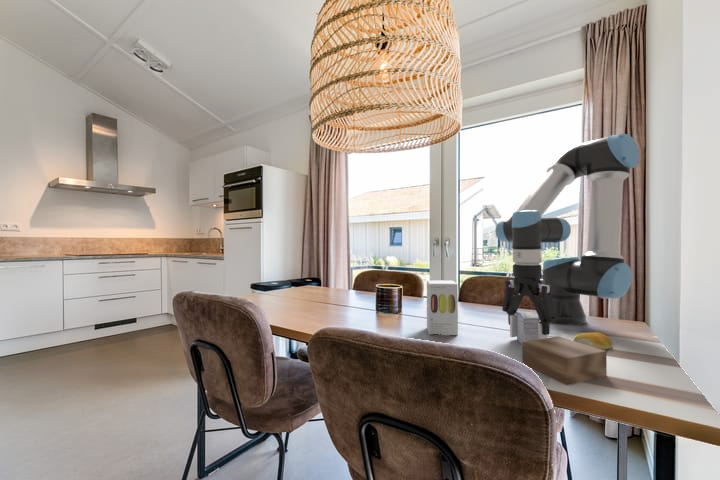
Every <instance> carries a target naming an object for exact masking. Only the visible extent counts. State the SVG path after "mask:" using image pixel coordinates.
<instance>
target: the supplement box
mask: <svg viewBox="0 0 720 480" xmlns="http://www.w3.org/2000/svg"><path fill="white" fill-rule="evenodd" d="M458 300H459V299H458V283H457V282H455V281H454V280H443V279H442V280H440V279H439V280H432V279H431V280H430V279H427V280H426V329H427V333H428V335H429V334H439V335H438V336H450V335H459V329H458V328H459V327H458V325H459V324H458V322H459V321H458V315H459V313H458V310H459V309H458V305H459V304H458ZM440 334H441V335H440Z"/></svg>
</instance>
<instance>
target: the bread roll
mask: <svg viewBox="0 0 720 480" xmlns="http://www.w3.org/2000/svg"><path fill="white" fill-rule="evenodd" d="M573 341H576V342H579V343H582V344H585V345H589V346H592V347H595V348H598V349H602V350H608V349H611V348H612V347H613V342H612V340H611V339H610V337H609V336H607V335H605V334H604V333H601V332H597V331H595V332H594V331H593V332H583V333H577V334H576V335H575V336H574V338H573Z"/></svg>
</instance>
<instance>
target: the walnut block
mask: <svg viewBox="0 0 720 480" xmlns="http://www.w3.org/2000/svg"><path fill="white" fill-rule="evenodd" d="M521 345H522V346H521V348H522V349H521V350H522V354H521V355H522V364H523V363H524V364H525V365H527V366H528V367H530V368H532V369H533V370H532V369H531V370H532V371H535V372H536V373H539V374H541V375H543V376H545V377H547V378H549V379H550V378H551V380H552V379H553V380H555V381H556V382H559V383H561V384H564V385H566V386H571V385H574V384H579V383H584V382H587V381H593V380H597V379H600V378H605V377H607V375H608V374H607V364H608V362H607V350H606V349H604V350H602V349H598V348H595V347H592V346H589V345H585V344H582V343H579V342H576V341H574V340H573V339H568V338H565V337H562V336H559V335H558V336H554V337H553V336H552V337H547V338H545V339H539V340H532V341H526V342H522V344H521ZM530 368H529V369H530Z"/></svg>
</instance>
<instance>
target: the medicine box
mask: <svg viewBox="0 0 720 480" xmlns="http://www.w3.org/2000/svg"><path fill="white" fill-rule="evenodd" d="M515 315H516V321H517V337H516V340H517V341H518V342H519V344H520V345H522V342H526V341H532V340H538V323H539V322H541V321H540V319H539V318H538V315H535V314H534V313H533V312H530V311H518V312H517V313H516V314H515Z"/></svg>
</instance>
